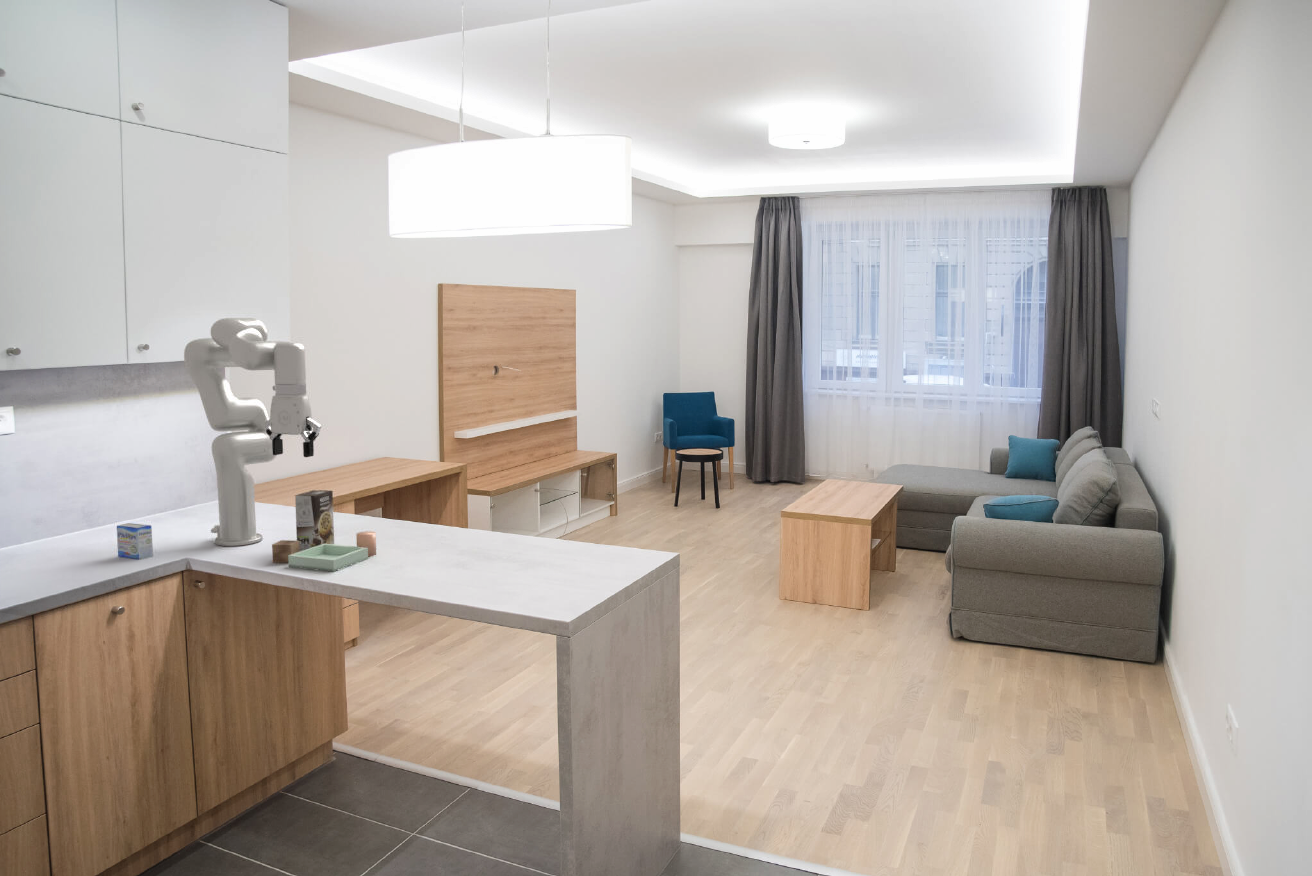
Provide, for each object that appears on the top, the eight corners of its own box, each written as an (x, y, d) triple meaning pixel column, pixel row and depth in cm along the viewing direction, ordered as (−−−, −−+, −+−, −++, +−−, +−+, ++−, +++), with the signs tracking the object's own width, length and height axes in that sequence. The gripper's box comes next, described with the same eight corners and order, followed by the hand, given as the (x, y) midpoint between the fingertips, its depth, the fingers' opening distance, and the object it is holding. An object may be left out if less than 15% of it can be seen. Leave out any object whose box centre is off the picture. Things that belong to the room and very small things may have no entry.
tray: (288, 566, 233) (288, 555, 233) (324, 554, 247) (324, 543, 246) (334, 571, 229) (333, 560, 229) (368, 558, 242) (367, 547, 242)
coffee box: (317, 553, 247) (315, 495, 245) (296, 552, 249) (293, 494, 247) (335, 546, 256) (333, 490, 254) (315, 544, 257) (312, 489, 255)
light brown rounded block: (353, 556, 245) (352, 534, 244) (364, 552, 250) (363, 530, 249) (368, 557, 243) (368, 536, 243) (380, 553, 248) (379, 532, 247)
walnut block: (272, 563, 237) (272, 544, 237) (281, 558, 242) (281, 540, 242) (291, 563, 237) (290, 545, 237) (299, 558, 242) (299, 540, 242)
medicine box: (117, 557, 242) (115, 525, 241) (132, 553, 247) (130, 522, 246) (139, 559, 240) (137, 527, 239) (153, 556, 244) (151, 524, 243)
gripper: (253, 390, 234) (255, 455, 236) (308, 392, 229) (311, 459, 231) (273, 388, 241) (276, 451, 243) (328, 390, 236) (330, 455, 238)
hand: (293, 455), depth 237 cm, fingers open, 9 cm apart
